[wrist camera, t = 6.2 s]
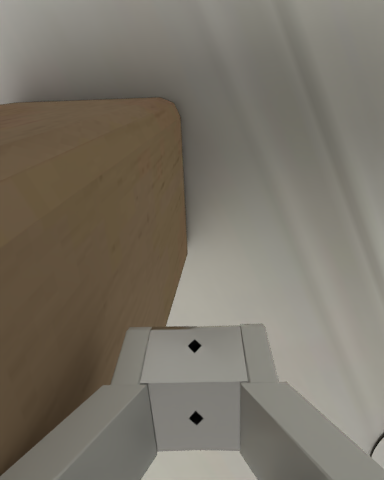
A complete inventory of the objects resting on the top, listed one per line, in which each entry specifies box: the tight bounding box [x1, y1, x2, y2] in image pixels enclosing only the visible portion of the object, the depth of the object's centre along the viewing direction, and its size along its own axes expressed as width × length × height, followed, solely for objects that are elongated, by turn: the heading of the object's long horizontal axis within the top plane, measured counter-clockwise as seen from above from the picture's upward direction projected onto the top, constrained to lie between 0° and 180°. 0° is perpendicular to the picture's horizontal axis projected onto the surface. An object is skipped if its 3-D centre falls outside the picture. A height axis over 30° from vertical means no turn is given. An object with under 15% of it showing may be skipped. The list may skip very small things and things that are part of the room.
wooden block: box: [0, 97, 187, 476], centre depth 13 cm, size 10×10×20 cm
